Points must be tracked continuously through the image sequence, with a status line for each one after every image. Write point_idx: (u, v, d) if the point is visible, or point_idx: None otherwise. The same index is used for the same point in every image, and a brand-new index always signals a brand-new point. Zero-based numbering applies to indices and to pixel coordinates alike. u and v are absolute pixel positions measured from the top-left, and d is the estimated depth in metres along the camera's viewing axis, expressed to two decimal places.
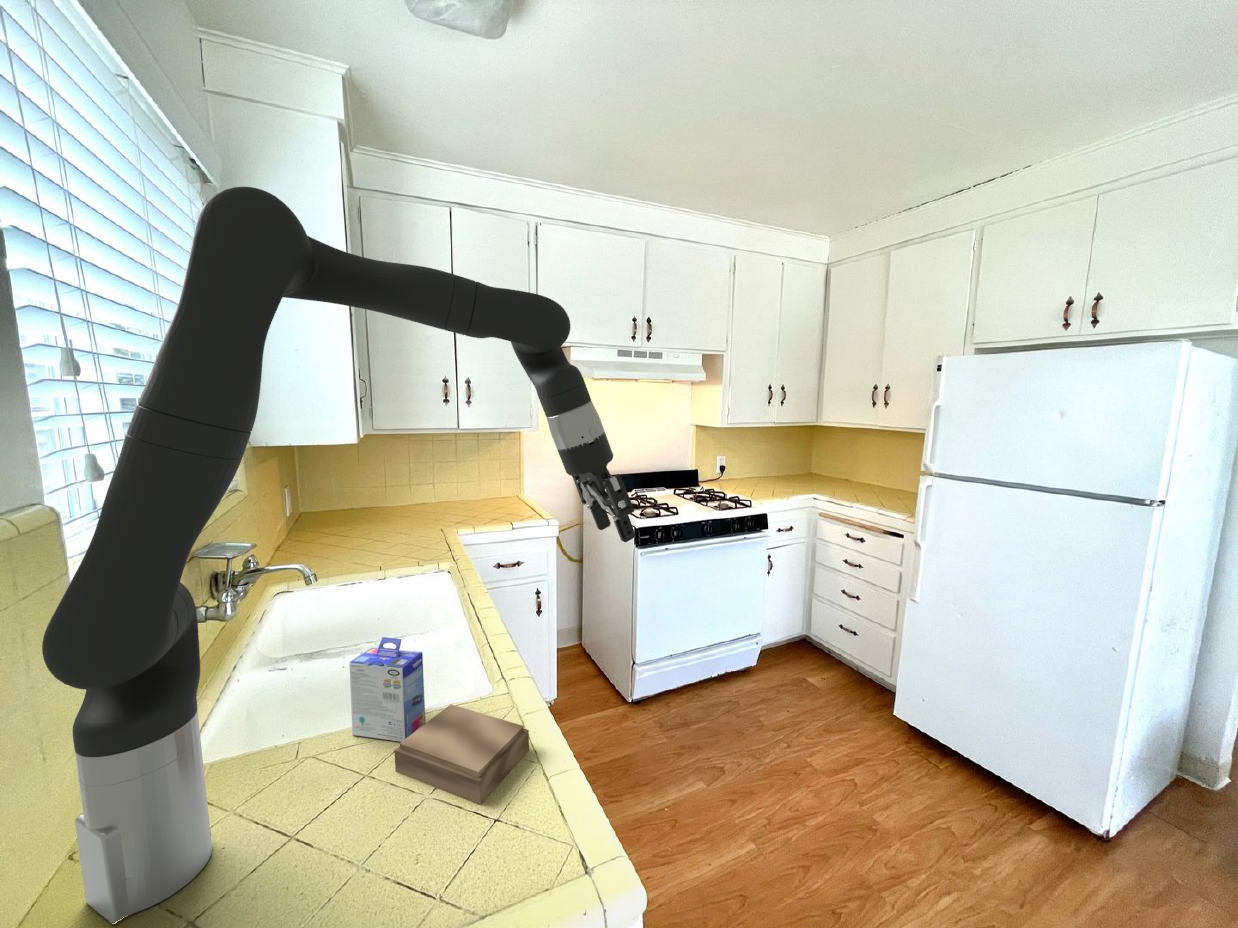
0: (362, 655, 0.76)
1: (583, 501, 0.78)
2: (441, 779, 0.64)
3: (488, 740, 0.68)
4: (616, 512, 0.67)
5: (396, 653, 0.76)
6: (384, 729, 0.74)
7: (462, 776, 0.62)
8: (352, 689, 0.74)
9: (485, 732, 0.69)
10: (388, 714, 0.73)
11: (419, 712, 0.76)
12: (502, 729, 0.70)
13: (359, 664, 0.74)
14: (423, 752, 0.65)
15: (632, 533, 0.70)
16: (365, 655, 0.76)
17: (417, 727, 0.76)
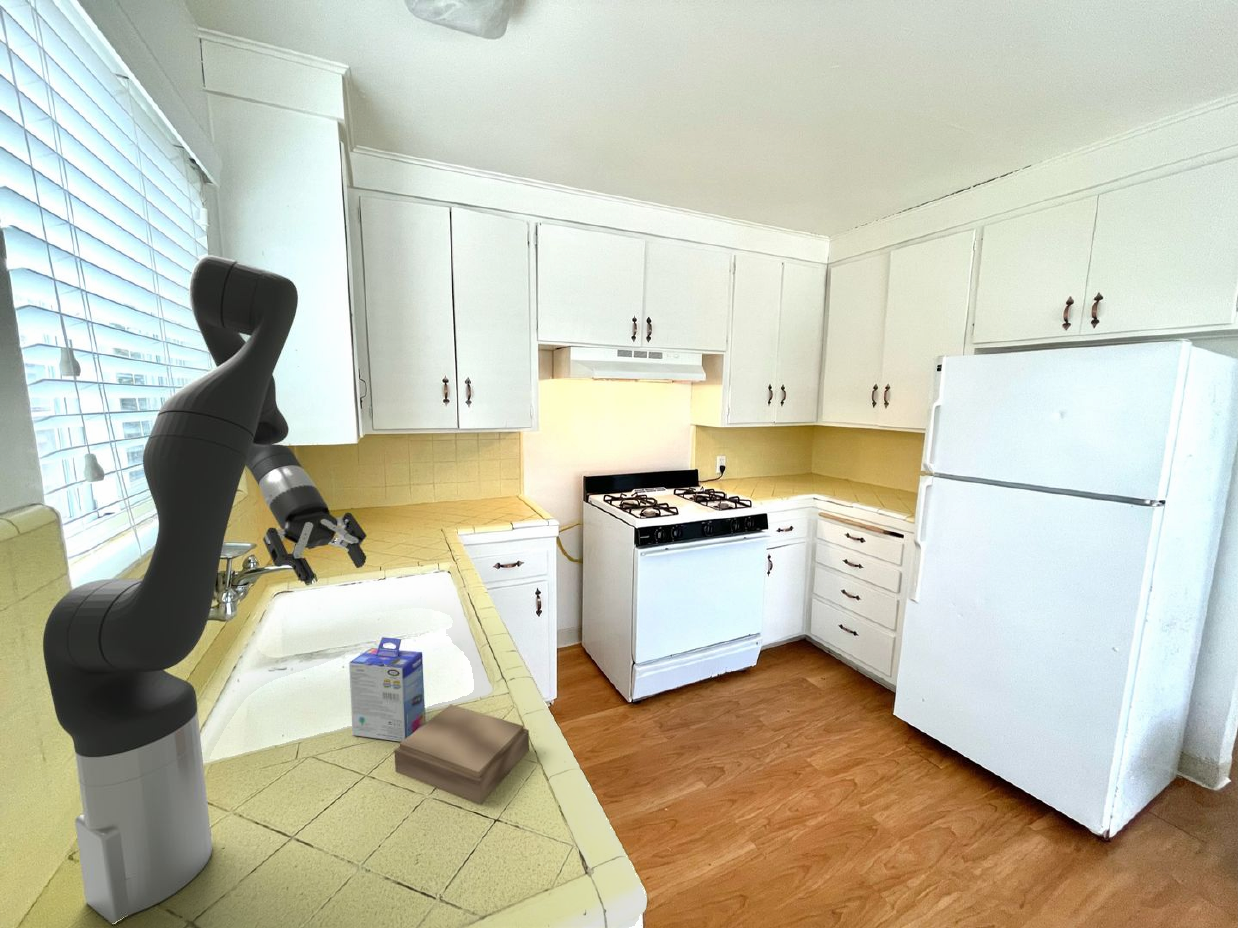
0: (362, 655, 0.76)
1: (286, 553, 0.74)
2: (441, 779, 0.64)
3: (488, 740, 0.68)
4: (361, 533, 0.86)
5: (396, 653, 0.76)
6: (384, 729, 0.74)
7: (462, 776, 0.62)
8: (352, 689, 0.74)
9: (485, 732, 0.69)
10: (387, 714, 0.73)
11: (419, 712, 0.76)
12: (502, 729, 0.70)
13: (359, 664, 0.74)
14: (423, 752, 0.65)
15: None
16: (364, 655, 0.76)
17: (417, 727, 0.76)
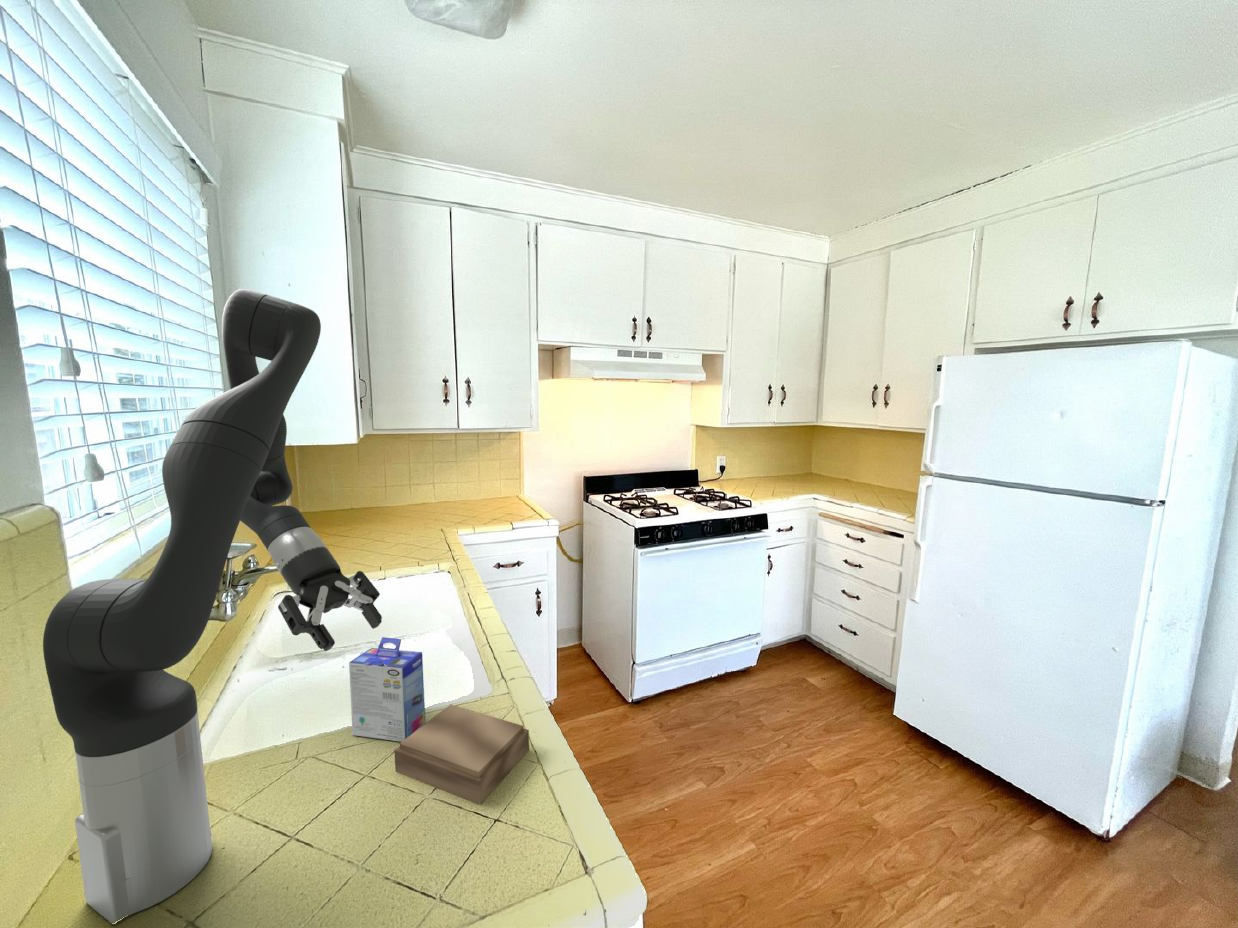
0: (362, 655, 0.76)
1: (304, 621, 0.73)
2: (441, 779, 0.64)
3: (488, 740, 0.68)
4: (374, 591, 0.85)
5: (396, 653, 0.76)
6: (384, 729, 0.74)
7: (462, 776, 0.62)
8: (352, 689, 0.74)
9: (485, 732, 0.69)
10: (387, 714, 0.73)
11: (419, 712, 0.76)
12: (502, 729, 0.70)
13: (359, 664, 0.74)
14: (423, 752, 0.65)
15: None
16: (364, 655, 0.76)
17: (417, 727, 0.76)
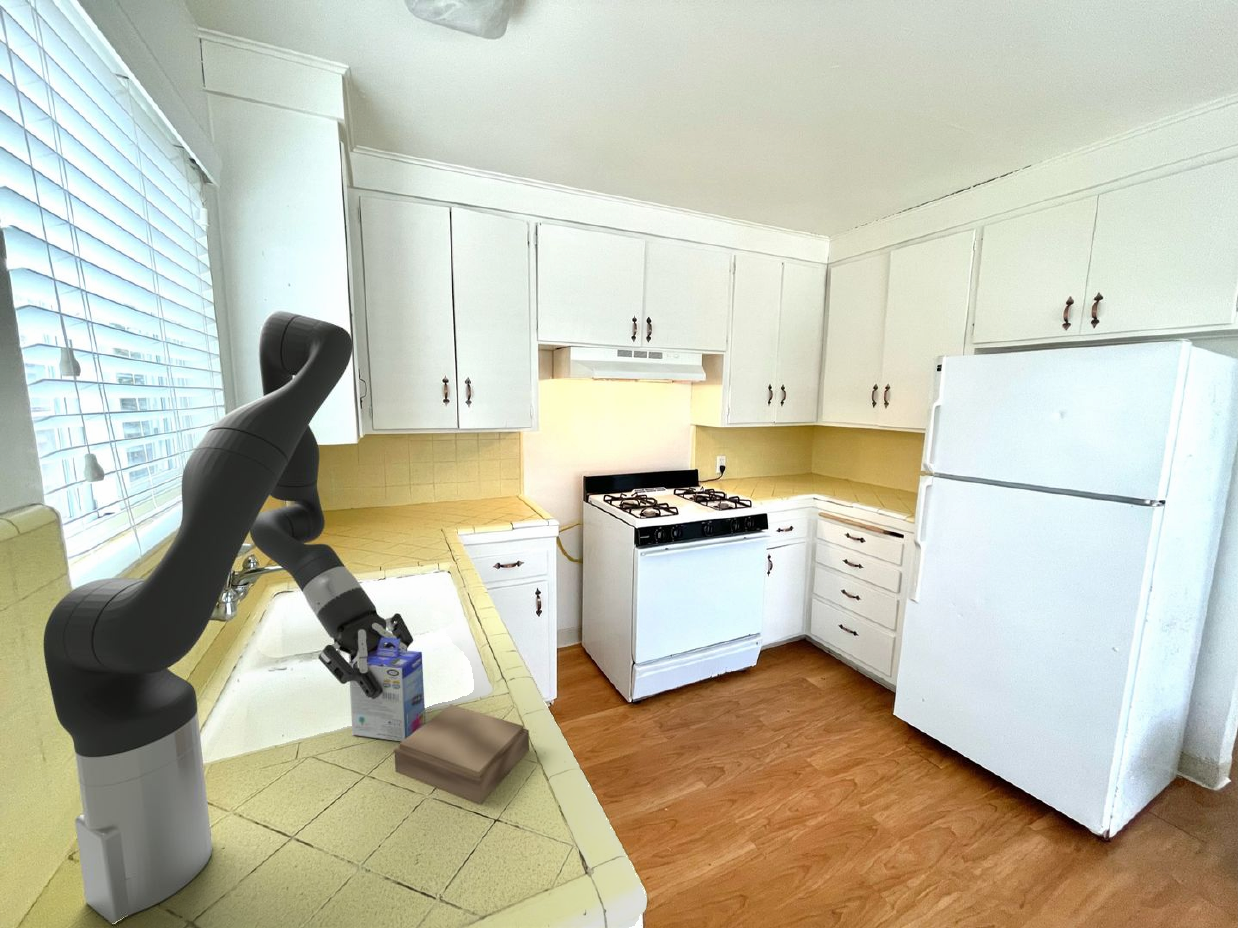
0: None
1: (352, 669, 0.71)
2: (441, 779, 0.64)
3: (488, 740, 0.68)
4: (407, 637, 0.81)
5: (395, 653, 0.75)
6: (384, 728, 0.74)
7: (462, 776, 0.62)
8: (351, 689, 0.74)
9: (485, 732, 0.69)
10: (387, 714, 0.73)
11: (419, 712, 0.76)
12: (502, 729, 0.70)
13: None
14: (423, 752, 0.65)
15: None
16: None
17: (417, 727, 0.76)
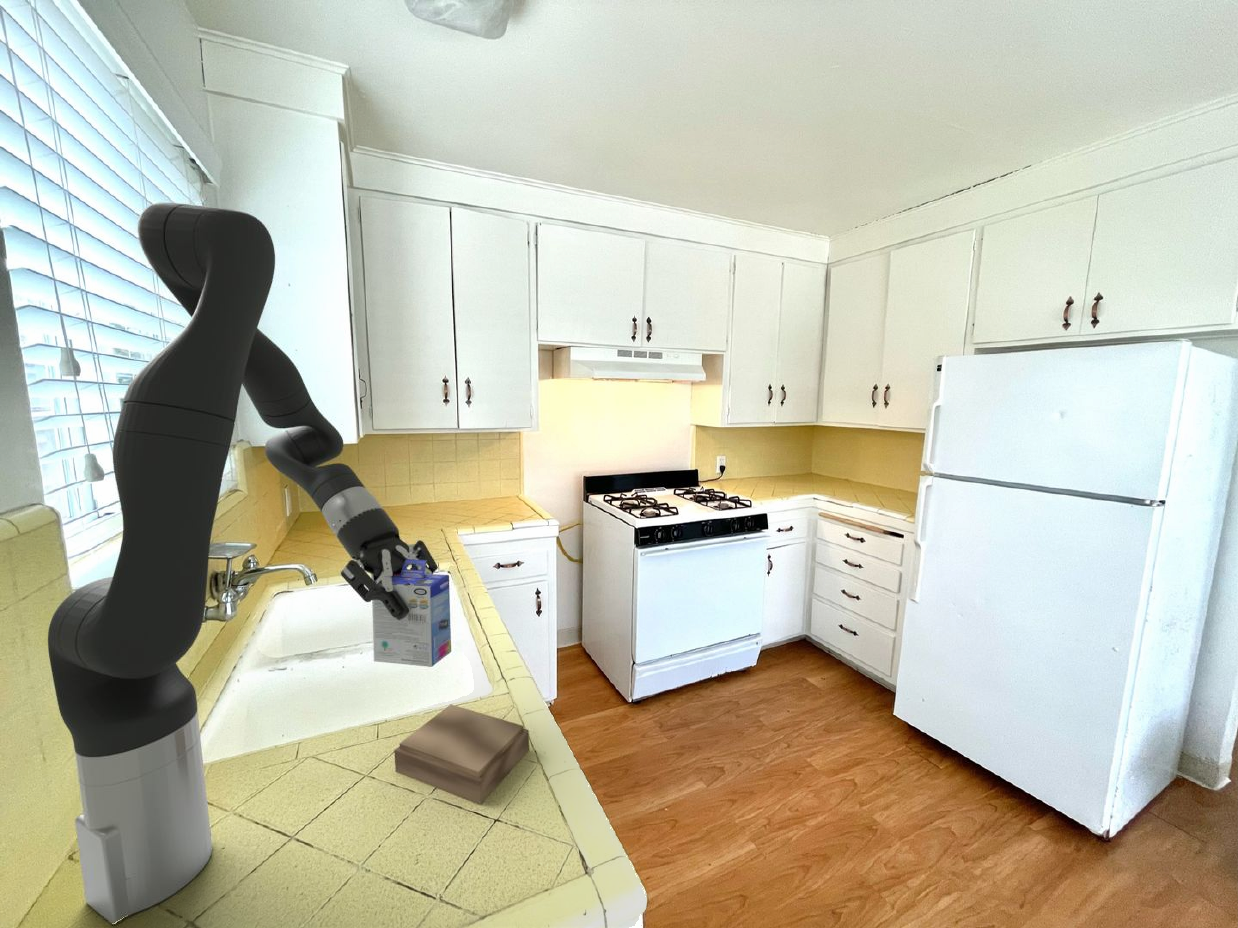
0: None
1: (377, 586, 0.67)
2: (441, 779, 0.64)
3: (488, 740, 0.68)
4: (432, 564, 0.76)
5: (421, 574, 0.71)
6: (409, 653, 0.69)
7: (462, 776, 0.62)
8: (374, 612, 0.69)
9: (485, 732, 0.69)
10: (413, 637, 0.69)
11: (446, 638, 0.71)
12: (502, 729, 0.70)
13: None
14: (423, 752, 0.65)
15: None
16: None
17: (443, 654, 0.71)
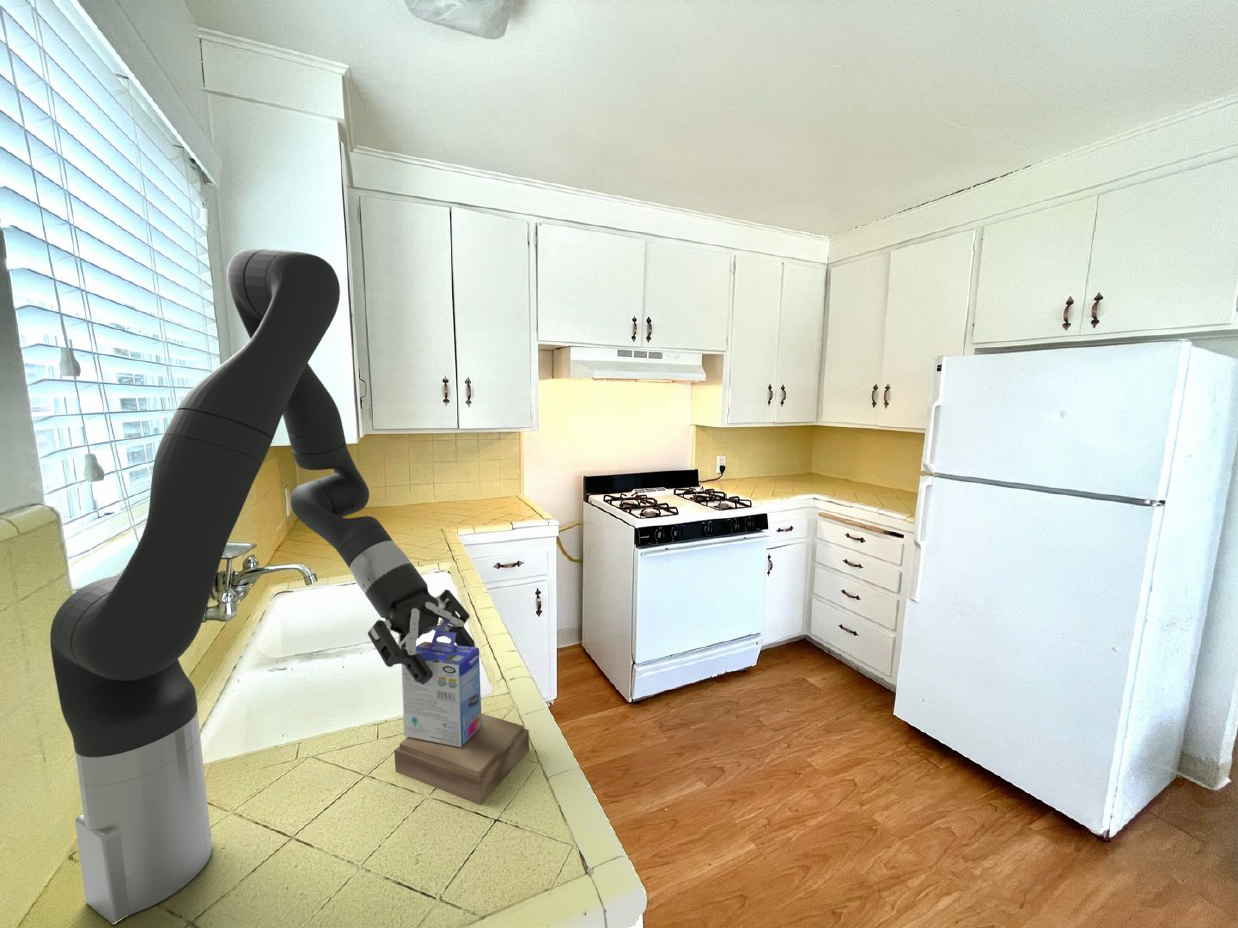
0: None
1: (400, 651, 0.64)
2: (441, 779, 0.64)
3: (488, 740, 0.68)
4: (464, 613, 0.75)
5: (451, 648, 0.69)
6: (439, 731, 0.67)
7: (462, 776, 0.62)
8: (404, 686, 0.68)
9: (485, 732, 0.69)
10: (442, 715, 0.66)
11: (476, 714, 0.69)
12: (502, 729, 0.70)
13: None
14: (423, 752, 0.65)
15: None
16: (417, 649, 0.69)
17: (473, 730, 0.69)
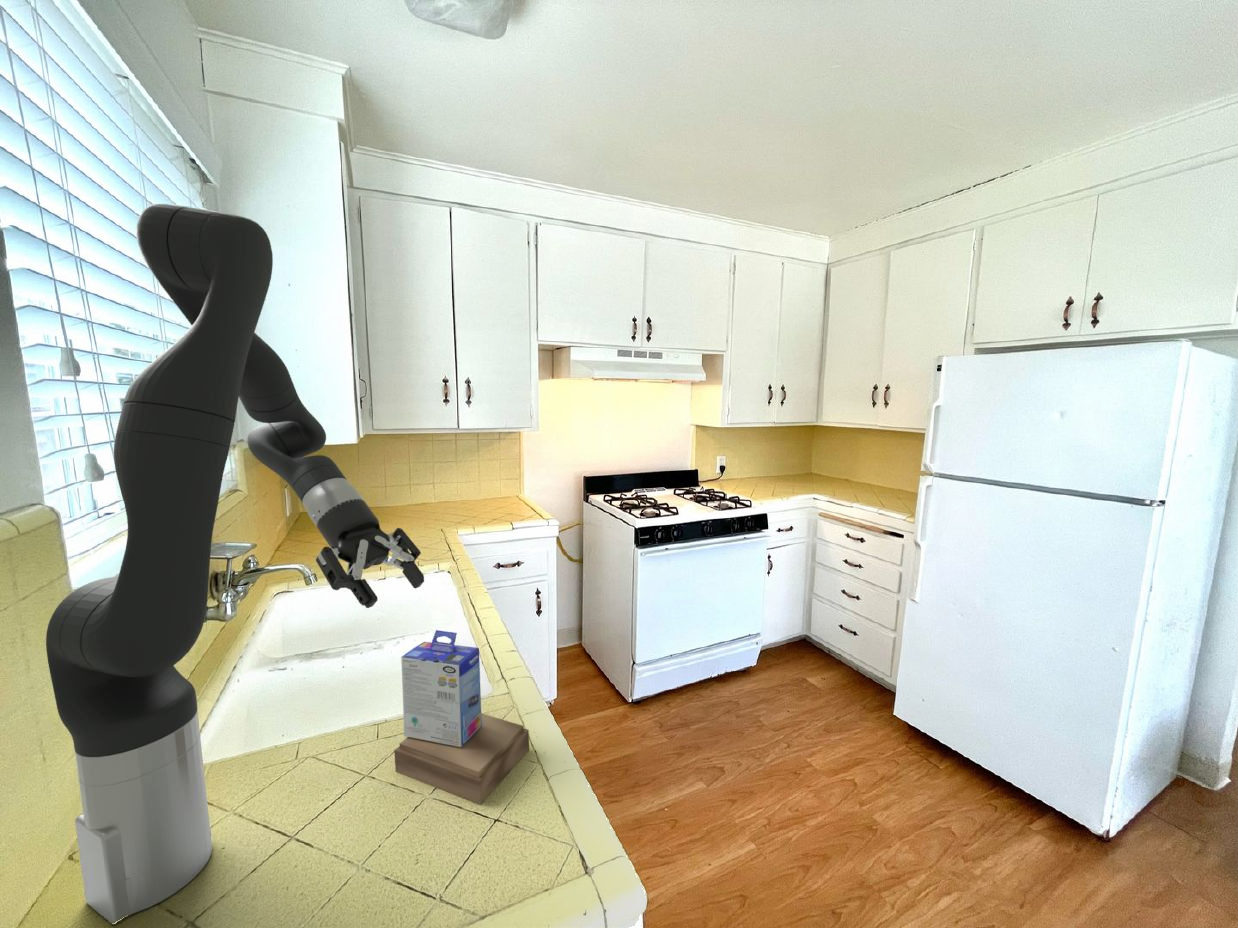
0: (415, 649, 0.69)
1: (345, 575, 0.67)
2: (441, 779, 0.64)
3: (488, 740, 0.68)
4: (415, 549, 0.78)
5: (451, 648, 0.69)
6: (439, 731, 0.67)
7: (462, 776, 0.62)
8: (404, 686, 0.68)
9: (485, 732, 0.69)
10: (442, 715, 0.66)
11: (476, 714, 0.69)
12: (502, 729, 0.70)
13: (412, 659, 0.67)
14: (423, 752, 0.65)
15: None
16: (417, 649, 0.69)
17: (473, 730, 0.69)
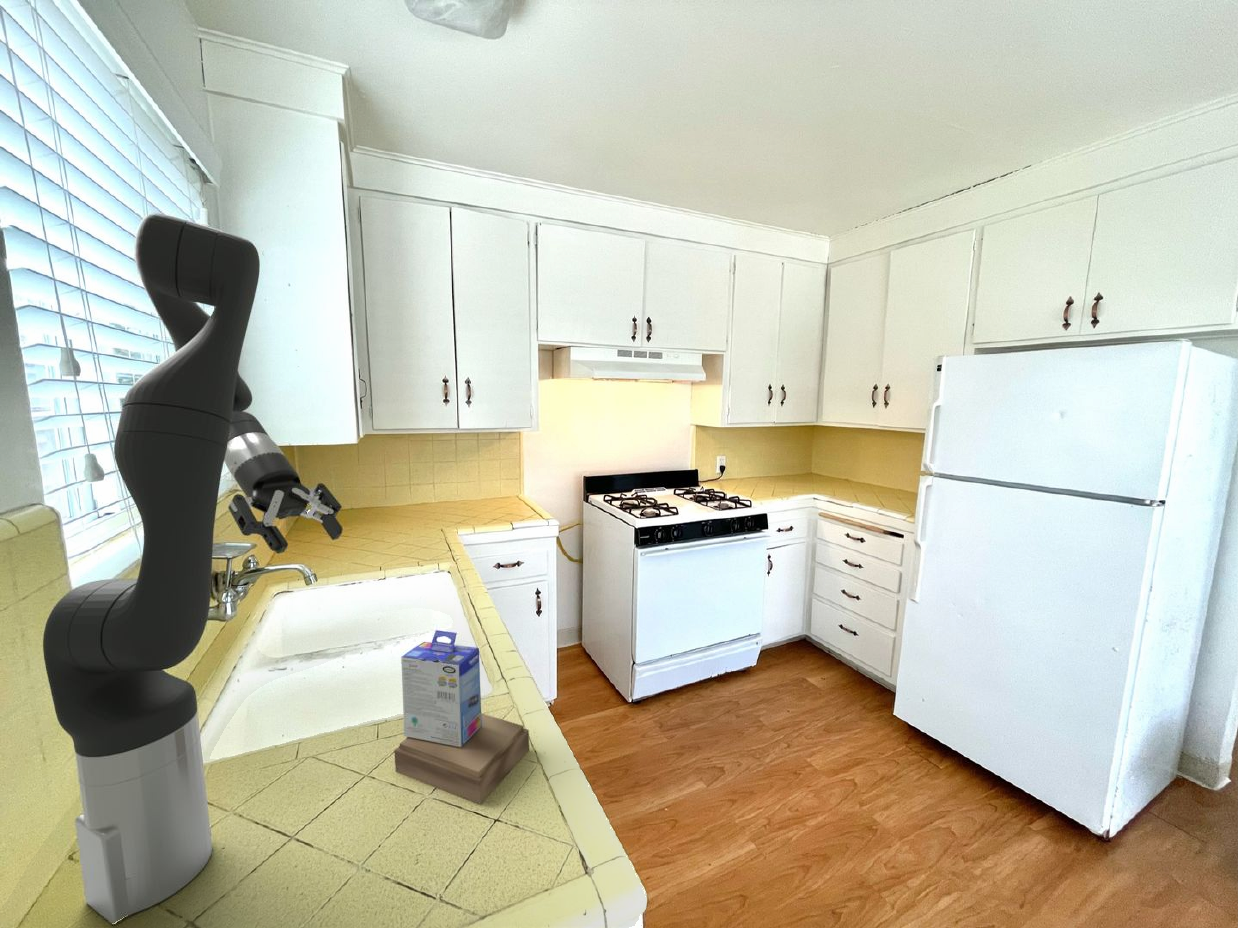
0: (414, 649, 0.69)
1: (255, 521, 0.69)
2: (441, 779, 0.64)
3: (488, 740, 0.68)
4: (335, 504, 0.81)
5: (451, 648, 0.69)
6: (439, 731, 0.67)
7: (462, 776, 0.62)
8: (404, 686, 0.68)
9: (485, 732, 0.69)
10: (442, 715, 0.66)
11: (476, 714, 0.69)
12: (502, 729, 0.70)
13: (412, 659, 0.67)
14: (423, 752, 0.65)
15: None
16: (417, 650, 0.69)
17: (473, 730, 0.69)
